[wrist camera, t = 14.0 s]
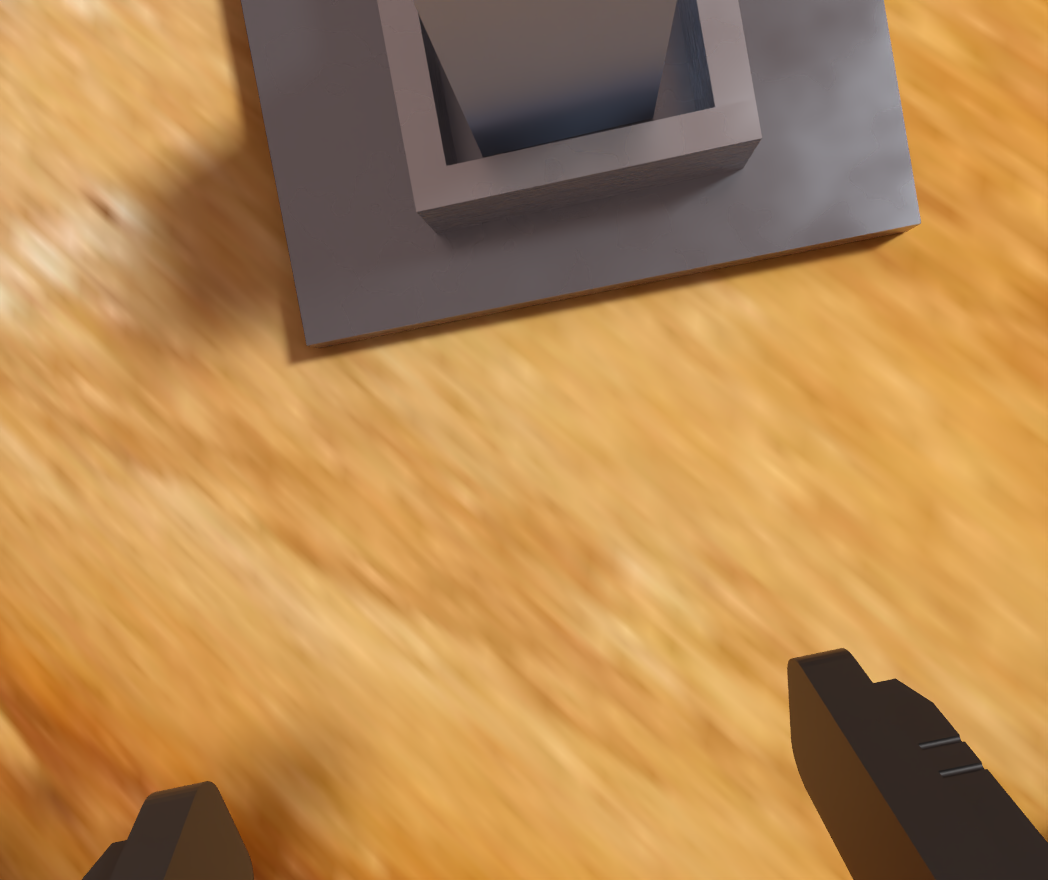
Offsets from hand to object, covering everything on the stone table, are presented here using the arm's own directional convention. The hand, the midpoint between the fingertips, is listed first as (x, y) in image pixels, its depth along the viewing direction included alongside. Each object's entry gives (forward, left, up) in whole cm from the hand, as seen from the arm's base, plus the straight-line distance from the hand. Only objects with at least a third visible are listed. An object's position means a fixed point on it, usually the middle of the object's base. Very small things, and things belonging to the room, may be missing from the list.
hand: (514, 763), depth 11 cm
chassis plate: (-3, +15, -13) cm, 20 cm away
